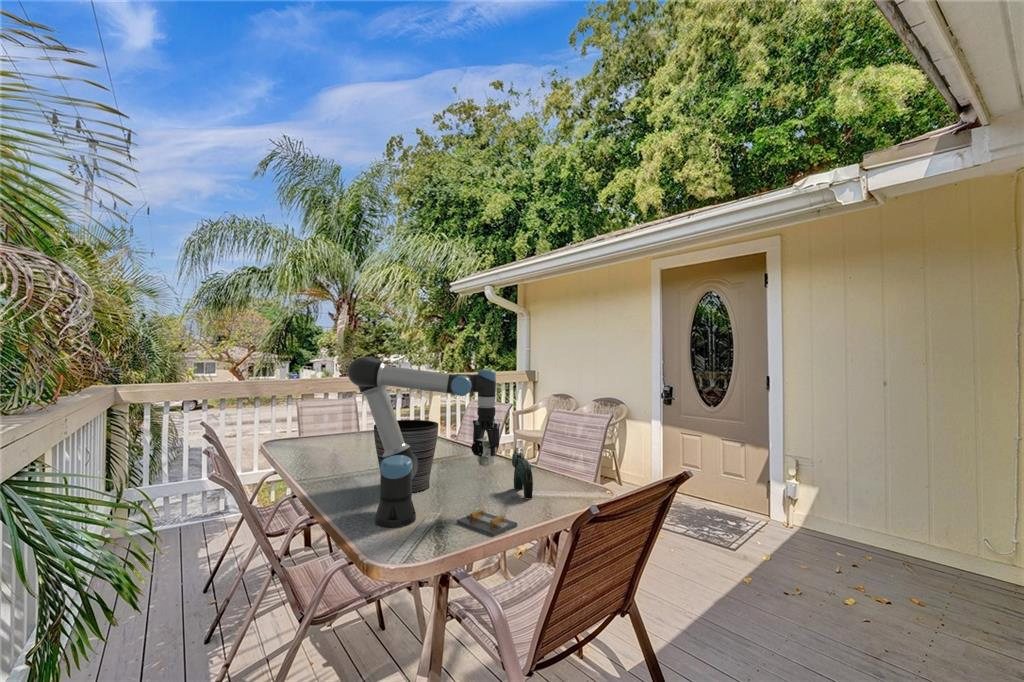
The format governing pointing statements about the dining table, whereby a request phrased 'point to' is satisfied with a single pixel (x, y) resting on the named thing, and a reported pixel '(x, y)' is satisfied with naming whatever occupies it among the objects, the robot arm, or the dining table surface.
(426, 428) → the planter pot
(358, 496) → the dining table surface
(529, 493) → the green spring clamp
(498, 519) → the rail plate
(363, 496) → the dining table surface
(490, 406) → the robot arm
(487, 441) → the pneumatic valve
